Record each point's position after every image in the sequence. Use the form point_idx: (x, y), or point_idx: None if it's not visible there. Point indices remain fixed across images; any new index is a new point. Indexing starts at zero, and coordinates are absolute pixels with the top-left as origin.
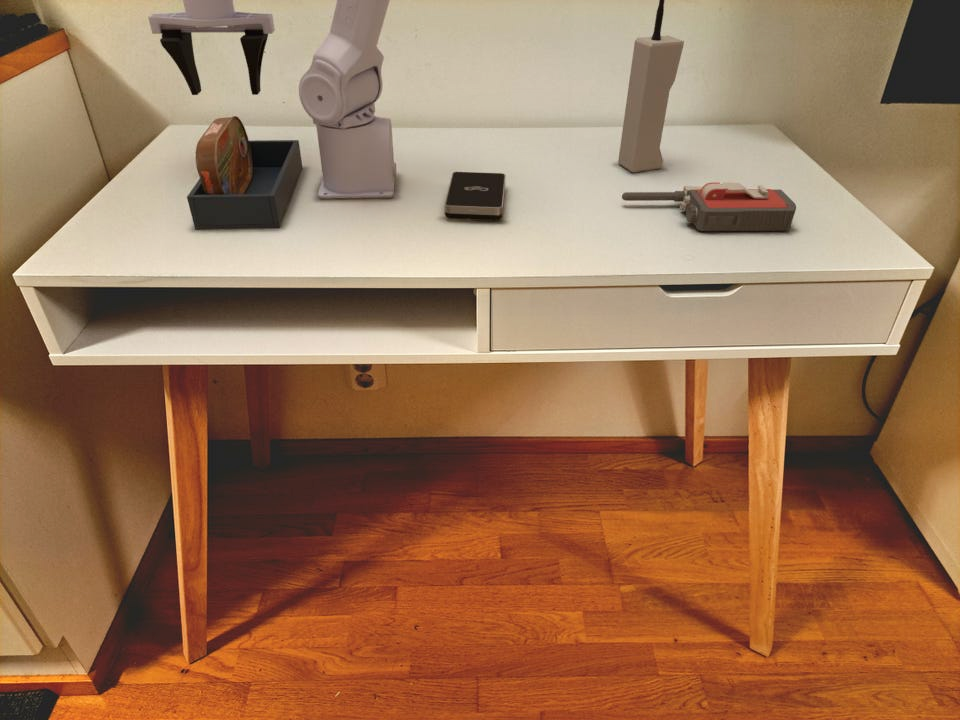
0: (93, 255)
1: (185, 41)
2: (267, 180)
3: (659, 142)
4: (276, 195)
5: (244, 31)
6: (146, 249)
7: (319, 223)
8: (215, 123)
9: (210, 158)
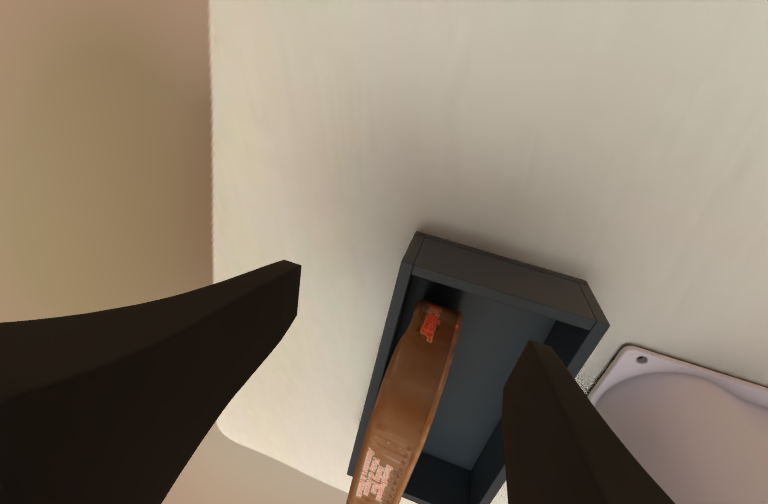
0: (264, 430)
1: (107, 497)
2: (485, 337)
3: None
4: None
5: None
6: (315, 442)
7: None
8: (374, 454)
9: None
